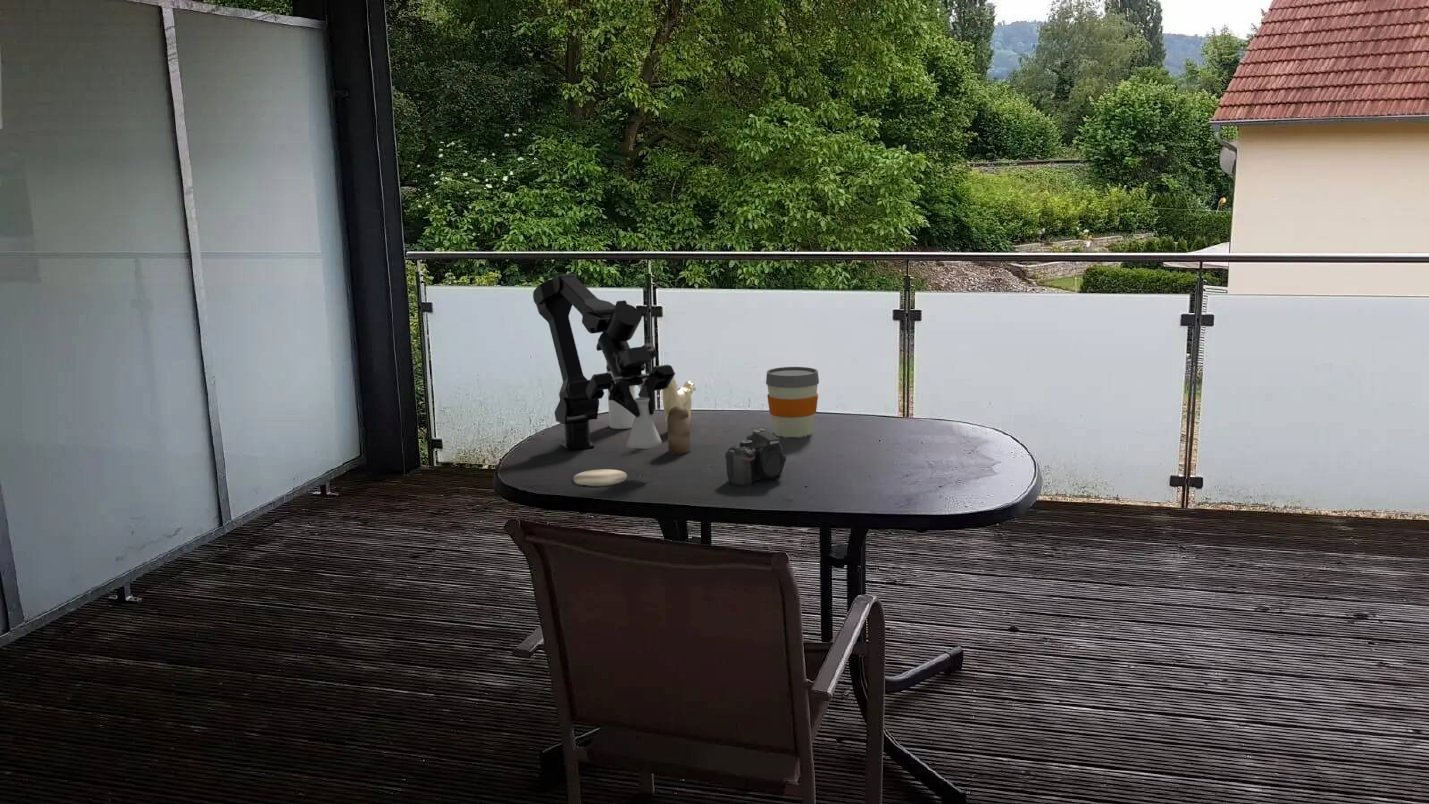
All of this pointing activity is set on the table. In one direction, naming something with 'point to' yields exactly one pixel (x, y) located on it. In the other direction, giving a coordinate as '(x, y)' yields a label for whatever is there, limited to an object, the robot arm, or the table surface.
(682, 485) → the table surface
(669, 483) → the table surface
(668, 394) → the unicorn
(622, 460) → the table surface
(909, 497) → the table surface
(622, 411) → the spray bottle
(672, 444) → the pepper shaker
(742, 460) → the camera
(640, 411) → the flask
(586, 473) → the coaster
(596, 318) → the robot arm
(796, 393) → the reusable coffee cup
